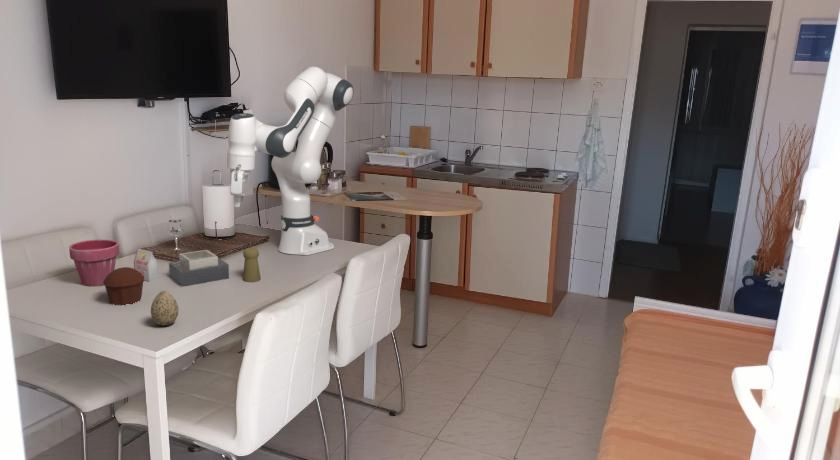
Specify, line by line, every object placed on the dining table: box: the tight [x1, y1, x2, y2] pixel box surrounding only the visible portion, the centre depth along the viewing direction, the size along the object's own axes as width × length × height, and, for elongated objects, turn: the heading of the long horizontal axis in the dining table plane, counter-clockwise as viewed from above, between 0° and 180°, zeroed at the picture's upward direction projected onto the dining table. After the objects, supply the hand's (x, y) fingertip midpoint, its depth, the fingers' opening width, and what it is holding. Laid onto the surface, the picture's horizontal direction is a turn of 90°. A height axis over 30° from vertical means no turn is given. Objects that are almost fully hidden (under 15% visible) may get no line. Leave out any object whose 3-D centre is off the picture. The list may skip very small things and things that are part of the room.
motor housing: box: [168, 249, 230, 287], centre depth 211 cm, size 16×12×8 cm
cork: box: [242, 247, 262, 283], centre depth 211 cm, size 6×6×11 cm
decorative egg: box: [150, 290, 179, 327], centre depth 172 cm, size 7×7×10 cm
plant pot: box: [68, 239, 120, 287], centre depth 202 cm, size 14×14×13 cm
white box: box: [133, 248, 159, 283], centre depth 207 cm, size 4×7×10 cm, turn 64°
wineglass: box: [167, 218, 185, 250], centre depth 239 cm, size 6×6×12 cm
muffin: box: [103, 266, 145, 306], centre depth 188 cm, size 12×11×10 cm
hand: (239, 203), depth 208 cm, fingers open, 8 cm apart
